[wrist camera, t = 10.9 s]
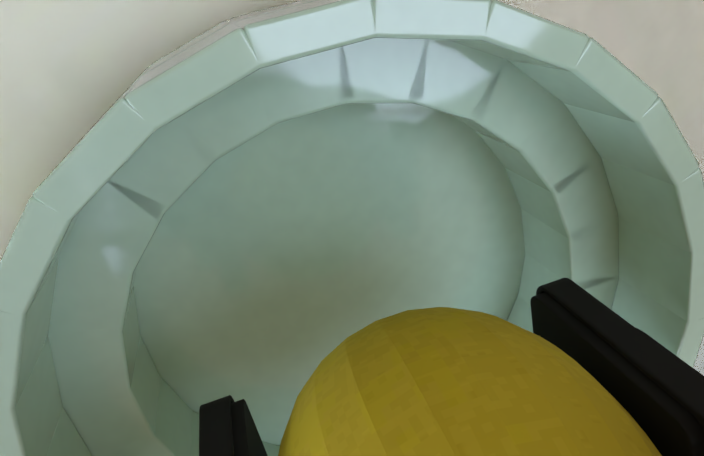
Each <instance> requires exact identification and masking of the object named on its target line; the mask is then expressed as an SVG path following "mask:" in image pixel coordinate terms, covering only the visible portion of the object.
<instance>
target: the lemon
mask: <svg viewBox="0 0 704 456" xmlns="http://www.w3.org/2000/svg"><path fill="white" fill-rule="evenodd" d="M278 456H662V455H661V454H660V452H659V451H658V450H657V448H656V447H655V445H654V444H653V443H652V441H651V440H650V438H649V437H648V436H647V434H646V433H645V432H644V431H643V430H642V428H641V427H640V426H639V425H638V423H637V422H636V421H635V420H634V419H633V417H632V416H631V415H630V414H629V413H628V412H627V411H626V410H625V409H624V407H623V406H622V405H621V404H620V403H619V402H618V401H617V400H616V399H615V398H614V397H613V396H612V395H611V394H610V393H609V392H608V391H607V390H606V389H605V388H604V387H603V386H602V385H601V384H600V383H599V382H598V381H597V380H596V379H595V378H594V377H593V376H592V375H591V374H590V373H588V372H587V371H586V370H585V369H584V368H583V367H582V366H581V365H580V364H578V363H577V362H576V361H575V360H574V359H573V358H571V357H570V356H569V355H567V354H566V353H565V352H563V351H562V350H561V349H559V348H558V347H557V346H555V345H553V344H552V343H550V342H549V341H547V340H545V339H544V338H542V337H540V336H538V335H536V334H534V333H532V332H530V331H528V330H525V329H523V328H521V327H519V326H517V325H515V324H512V323H510V322H508V321H506V320H504V319H501V318H499V317H497V316H494V315H491V314H487V313H483V312H479V311H472V310H464V309H457V308H450V307H434V308H424V309H414V310H407V311H404V312H401V313H398V314H395V315H392V316H389V317H386V318H383V319H380V320H377V321H374V322H373V323H371V324H369V325H368V326H366V327H364V328H363V329H361V330H359V331H357V332H356V333H354V334H352V335H351V336H349V337H347V338H346V339H345V340H344V341H343V342H342V343H341V344H340V345H338V346H337V347H336V348H335V349H334V350H333V351H332V352H331V353H330V354H328V355H327V356H326V357H325V358H324V359H323V360H322V361H321V362H320V364H319V365H318V367H317V368H316V370H315V371H314V372H313V374H312V375H311V377H310V378H309V380H308V381H307V382H306V384H305V385H304V387H303V388H302V390H301V392H300V393H299V395H298V396H297V399H296V402H295V404H294V407H293V410H292V412H291V415H290V418H289V420H288V423H287V426H286V429H285V431H284V434H283V437H282V440H281V443H280V449H279V454H278Z"/></svg>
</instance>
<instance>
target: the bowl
mask: <svg viewBox="0 0 704 456" xmlns="http://www.w3.org/2000/svg"><path fill="white" fill-rule="evenodd" d="M561 278H569V279H570V280H572V281H573V282H575V283H576V284H577V285H579V286H580V287H581V288H583V289H584V290H585V291H587V292H588V293H589V294H591V295H592V296H594V297H595V298H596V299H598V300H599V301H600V302H602V303H603V304H604V305H606V306H607V307H608V308H610V309H611V310H612V311H614V312H615V313H616V314H618V315H619V316H620V317H622V318H623V319H624V320H626V321H627V322H628V323H630V324H631V325H632V326H634V327H635V328H638V329H640V330H641V331H643V332H645V333H646V334H648V335H649V336H650V337H652V338H653V339H654V340H656V341H657V342H658V343H660V344H661V345H662V346H664V347H665V348H666V349H668V350H669V351H671V352H672V353H673V354H675V355H676V356H677V357H679V358H680V359H681V360H683V361H684V362H685V363H687V364H688V365H689V366H691V367H692V368H693V367H694V364H695V360H696V357H697V354H698V351H699V348H700V345H701V342H702V339H703V336H704V182H703V177H702V172H701V169H700V168H699V164H698V162H697V160H696V158H695V157H694V155H693V153H692V151H691V150H690V148H689V146H688V144H687V143H686V141H685V139H684V137H683V136H682V134H681V132H680V130H679V129H678V127H677V125H676V123H675V122H674V120H673V118H672V116H671V115H670V113H669V111H668V109H667V108H666V106H665V104H664V102H663V101H662V99H661V98H660V97H658V94H657V93H656V92H655V91H654V90H653V89H651V88H650V87H649V86H648V85H647V84H646V83H644V82H643V81H642V80H641V79H640V78H639V77H637V76H636V75H635V74H634V73H633V72H632V71H630V70H629V69H628V68H627V67H626V66H625V65H623V64H622V63H621V62H620V61H619V60H618V59H616V58H615V57H614V56H613V55H612V54H610V53H609V52H608V51H607V50H606V49H605V48H603V47H602V46H601V45H600V44H599V43H598V42H596V41H595V40H594V39H593V38H590V37H588V36H587V35H586V34H584V33H582V32H579V31H576V30H574V29H571V28H569V27H566V26H563V25H561V24H558V23H556V22H553V21H550V20H548V19H545V18H542V17H540V16H537V15H535V14H532V13H529V12H527V11H524V10H522V9H519V8H516V7H514V6H511V5H508V4H506V3H503V2H501V1H498V0H300V1H296V2H292V3H288V4H284V5H280V6H276V7H272V8H268V9H264V10H260V11H256V12H253V13H249V14H245V15H241V16H237V17H233V18H231V19H230V20H229V21H223V22H221V23H220V24H218V25H216V26H215V27H213V28H211V29H209V30H208V31H206V32H204V33H203V34H201V35H199V36H198V37H196V38H194V39H193V40H191V41H189V42H187V43H186V44H184V45H182V46H181V47H179V48H177V49H176V50H174V51H172V52H171V53H169V54H167V55H165V56H164V57H162V58H160V59H159V60H157V61H155V62H154V63H152V65H151V66H150V67H147V68H146V69H145V70H144V71H143V72H142V73H141V74H140V76H139V77H138V78H137V79H136V80H135V81H134V82H133V83H132V84H131V85H130V86H129V87H128V88H127V90H126V91H125V92H124V93H123V94H122V95H121V96H120V97H119V98H118V99H117V100H116V101H115V103H114V104H113V105H112V106H111V107H110V108H109V109H108V110H107V111H106V112H105V113H104V114H103V115H102V117H101V118H100V119H99V120H98V121H97V122H96V123H95V124H94V125H93V126H92V127H91V128H90V130H89V131H88V132H87V133H86V134H85V135H84V136H83V137H82V139H81V140H80V141H79V142H78V143H77V144H76V145H75V146H74V147H73V149H72V150H71V151H70V152H69V153H68V154H67V155H66V156H65V157H64V159H63V160H62V161H61V162H60V163H59V164H58V165H57V166H56V168H55V169H54V170H53V171H52V172H51V173H50V174H49V175H48V176H47V178H46V179H45V180H44V181H43V182H42V183H41V184H40V185H39V187H38V188H37V189H36V190H35V191H34V192H33V195H32V196H31V198H30V199H29V200H28V203H27V205H26V207H25V209H24V211H23V213H22V216H21V218H20V220H19V222H18V224H17V226H16V228H15V231H14V233H13V235H12V237H11V239H10V241H9V244H8V246H7V248H6V250H5V252H4V254H3V256H2V259H1V261H0V456H199V409H200V406H201V405H203V404H206V403H209V402H211V401H214V400H217V399H220V398H223V397H226V396H228V395H231V396H232V398H233V399H234V402H236V401H239V400H242V399H244V400H245V401H246V403H247V406H248V408H249V411H250V413H251V416H252V418H253V420H254V423H255V425H256V428H257V430H258V433H259V435H260V438H261V440H262V443H263V445H264V448H265V450H266V453H267V455H268V456H278V454H279V449H280V443H281V440H282V437H283V434H284V431H285V429H286V426H287V423H288V420H289V418H290V415H291V412H292V410H293V407H294V404H295V402H296V399H297V396H298V395H299V393H300V392H301V390H302V388H303V387H304V385H305V384H306V382H307V381H308V380H309V378H310V377H311V375H312V374H313V372H314V371H315V370H316V368H317V367H318V365H319V364H320V362H321V361H322V360H323V359H324V358H325V357H326V356H327V355H328V354H330V353H331V352H332V351H333V350H334V349H335V348H336V347H337V346H338V345H340V344H341V343H342V342H343V341H344V340H345V339H346V338H347V337H349V336H351V335H352V334H354V333H356V332H357V331H359V330H361V329H363V328H364V327H366V326H368V325H369V324H371V323H373V322H374V321H377V320H380V319H383V318H386V317H389V316H392V315H395V314H398V313H401V312H404V311H407V310H414V309H424V308H434V307H450V308H457V309H464V310H472V311H479V312H483V313H487V314H491V315H494V316H497V317H499V318H501V319H504V320H506V321H508V322H510V323H512V324H515V325H517V326H519V327H521V328H523V329H525V330H528V331H530V332H532V333H533V326H532V316H531V305H530V300H531V297H533V296H535V295H536V291H537V288H538V287H539V286H541V285H544V284H547V283H550V282H553V281H556V280H558V279H561Z"/></svg>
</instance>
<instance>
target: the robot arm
mask: <svg viewBox="0 0 704 456" xmlns="http://www.w3.org/2000/svg"><path fill="white" fill-rule="evenodd" d="M530 305H531V316H532V326H533V333H534V334H536V335H538V336H540V337H542V338H544V339H545V340H547V341H549V342H550V343H552V344H553V345H555V346H557V347H558V348H559V349H561V350H562V351H563V352H565V353H566V354H567V355H569V356H570V357H571V358H573V359H574V360H575V361H576V362H577V363H578V364H580V365H581V366H582V367H583V368H584V369H585V370H586V371H587V372H588V373H590V374H591V375H592V376H593V377H594V378H595V379H596V380H597V381H598V382H599V383H600V384H601V385H602V386H603V387H604V388H605V389H606V390H607V391H608V392H609V393H610V394H611V395H612V396H613V397H614V398H615V399H616V400H617V401H618V402H619V403H620V404H621V405H622V406H623V407H624V409H625V410H626V411H627V412H628V413H629V414H630V415H631V416H632V417H633V419H634V420H635V421H636V422H637V423H638V425H639V426H640V427H641V428H642V430H643V431H644V432H645V433H646V434H647V436H648V437H649V438H650V440H651V441H652V443H653V444H654V445H655V447H656V448H657V450H658V451H659V452H660V454H661V455H662V456H704V376H703V375H702V374H700V373H699V372H698V371H696V370H695V369H693V368H692V367H691V366H689V365H688V364H687V363H685V362H684V361H683V360H681V359H680V358H679V357H677V356H676V355H675V354H673V353H672V352H671V351H669V350H668V349H666V348H665V347H664V346H662V345H661V344H660V343H658V342H657V341H656V340H654V339H653V338H652V337H650V336H649V335H648V334H646V333H645V332H643V331H641V330H640V329H638V328H635V327H634V326H632V325H631V324H630V323H628V322H627V321H626V320H624V319H623V318H622V317H620V316H619V315H618V314H616V313H615V312H614V311H612V310H611V309H610V308H608V307H607V306H606V305H604V304H603V303H602V302H600V301H599V300H598V299H596V298H595V297H594V296H592V295H591V294H589V293H588V292H587V291H585V290H584V289H583V288H581V287H580V286H579V285H577V284H576V283H575V282H573V281H572V280H570V279H569V278H561V279H558V280H556V281H553V282H550V283H547V284H544V285H541V286H539V287H538V288H537V291H536V295H535V296H533V297H531V300H530ZM199 456H268V455H267V453H266V450H265V448H264V445H263V443H262V440H261V438H260V435H259V433H258V430H257V428H256V425H255V423H254V420H253V418H252V416H251V413H250V411H249V408H248V406H247V403H246V401H245V400H244V399H242V400H239V401H236V402H234V399H233V398H232V396H231V395H228V396H226V397H223V398H220V399H217V400H214V401H211V402H209V403H206V404H203V405H201V406H200V409H199Z"/></svg>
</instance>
